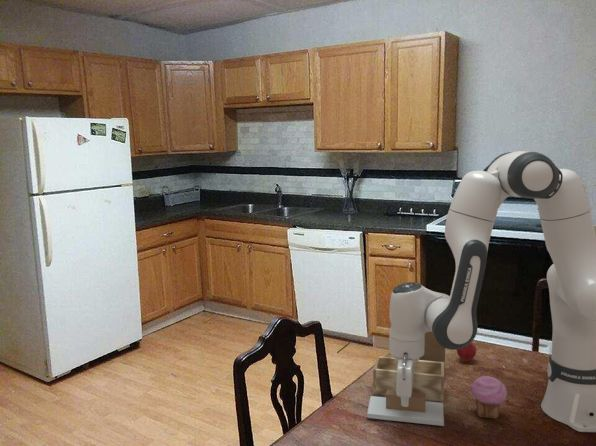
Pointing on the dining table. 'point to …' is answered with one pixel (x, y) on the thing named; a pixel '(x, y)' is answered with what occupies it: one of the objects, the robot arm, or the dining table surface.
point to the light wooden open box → (424, 381)
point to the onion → (467, 352)
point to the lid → (406, 409)
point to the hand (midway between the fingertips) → (406, 395)
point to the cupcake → (488, 396)
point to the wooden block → (433, 350)
